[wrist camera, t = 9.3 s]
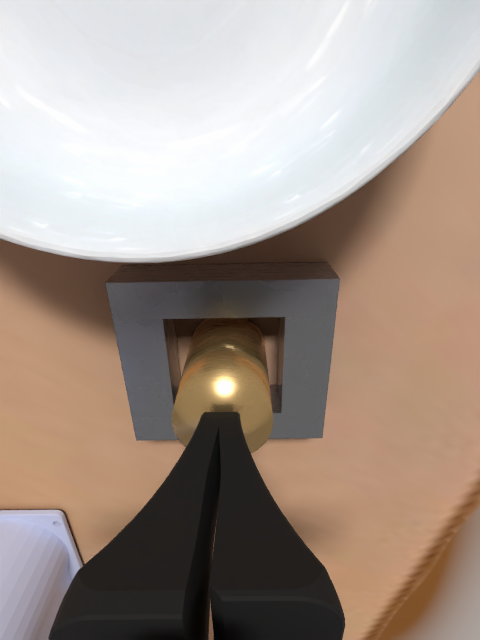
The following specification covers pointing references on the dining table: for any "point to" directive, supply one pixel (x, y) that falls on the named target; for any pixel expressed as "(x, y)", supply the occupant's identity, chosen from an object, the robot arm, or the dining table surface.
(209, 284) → the frame
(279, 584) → the robot arm
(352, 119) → the serving bowl
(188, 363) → the brass cylinder
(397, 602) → the dining table surface
